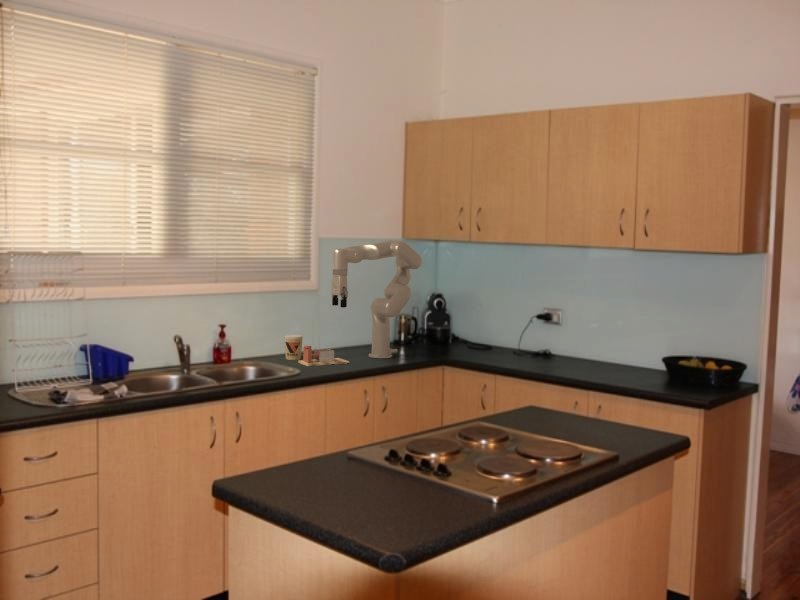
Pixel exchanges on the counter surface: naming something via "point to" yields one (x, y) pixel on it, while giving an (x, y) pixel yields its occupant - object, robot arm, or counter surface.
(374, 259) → the robot arm
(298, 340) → the coffee cup
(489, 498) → the counter surface
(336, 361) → the birch board
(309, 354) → the red toy hammer
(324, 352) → the coupler lock
